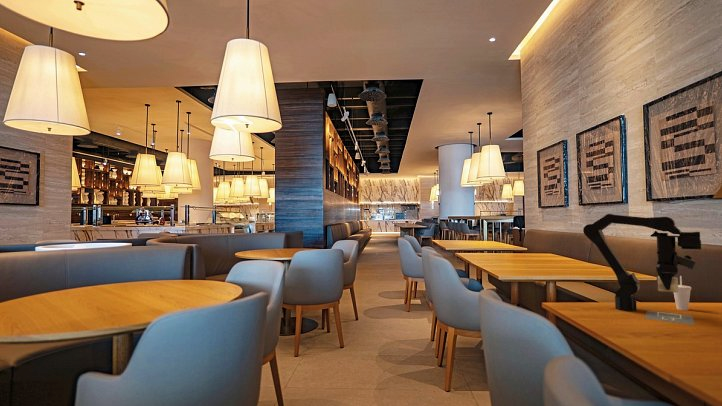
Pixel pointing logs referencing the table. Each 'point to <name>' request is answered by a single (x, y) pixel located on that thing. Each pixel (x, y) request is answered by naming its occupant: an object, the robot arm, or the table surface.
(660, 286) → the maple block
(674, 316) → the board
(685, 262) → the robot arm
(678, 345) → the table surface
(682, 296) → the smoothie
